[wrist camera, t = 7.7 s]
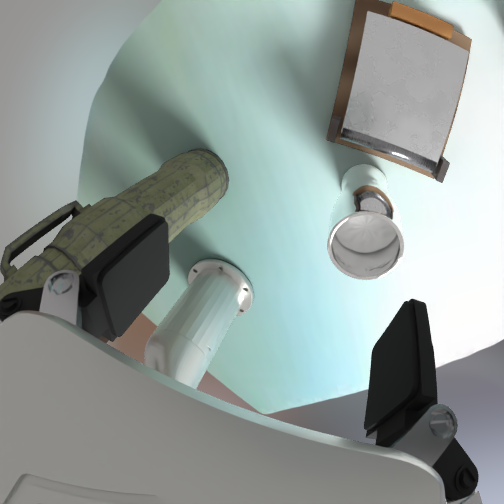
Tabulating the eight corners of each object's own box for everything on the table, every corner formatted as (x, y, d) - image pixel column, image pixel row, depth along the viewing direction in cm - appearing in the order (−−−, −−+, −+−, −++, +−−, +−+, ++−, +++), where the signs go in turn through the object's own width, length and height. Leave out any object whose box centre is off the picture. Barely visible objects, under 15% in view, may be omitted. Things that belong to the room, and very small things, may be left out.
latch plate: (431, 175, 30) (442, 191, 26) (327, 137, 33) (322, 147, 28) (467, 40, 19) (485, 35, 14) (356, -2, 21) (356, -17, 17)
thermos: (211, 221, 45) (51, 409, 18) (161, 167, 43) (-33, 312, 16) (249, 188, 40) (59, 411, 13) (192, 128, 38) (-52, 273, 10)
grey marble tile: (430, 170, 27) (433, 175, 26) (339, 136, 29) (338, 139, 27) (464, 52, 17) (470, 51, 16) (367, 13, 19) (367, 10, 18)
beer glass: (332, 165, 34) (316, 215, 23) (385, 156, 31) (402, 203, 19) (344, 214, 37) (332, 285, 26) (394, 207, 34) (408, 278, 23)
